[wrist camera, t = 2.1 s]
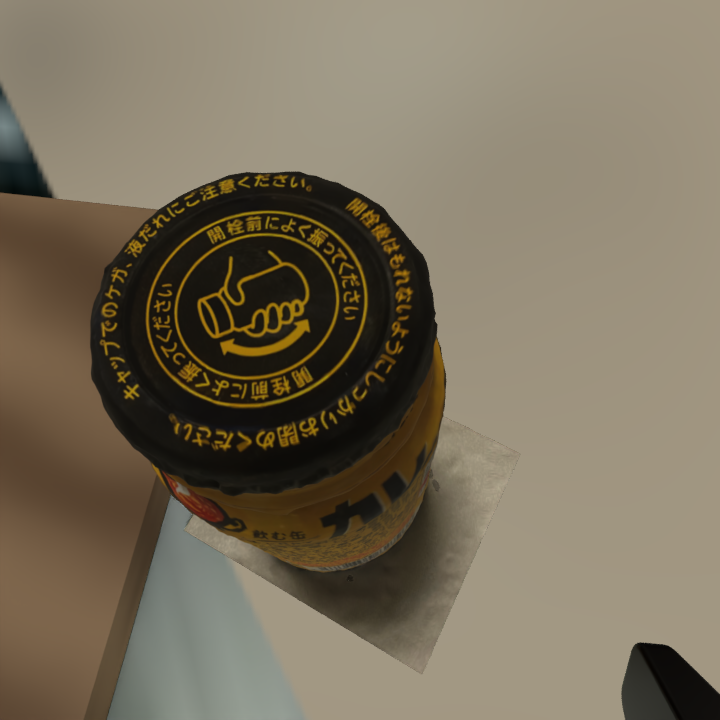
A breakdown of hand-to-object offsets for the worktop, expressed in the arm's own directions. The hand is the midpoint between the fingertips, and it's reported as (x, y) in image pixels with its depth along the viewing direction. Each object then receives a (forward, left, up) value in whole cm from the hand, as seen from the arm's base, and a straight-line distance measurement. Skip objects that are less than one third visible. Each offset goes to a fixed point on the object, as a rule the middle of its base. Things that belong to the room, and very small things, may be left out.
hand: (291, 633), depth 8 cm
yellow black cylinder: (+4, 0, -11) cm, 11 cm away
